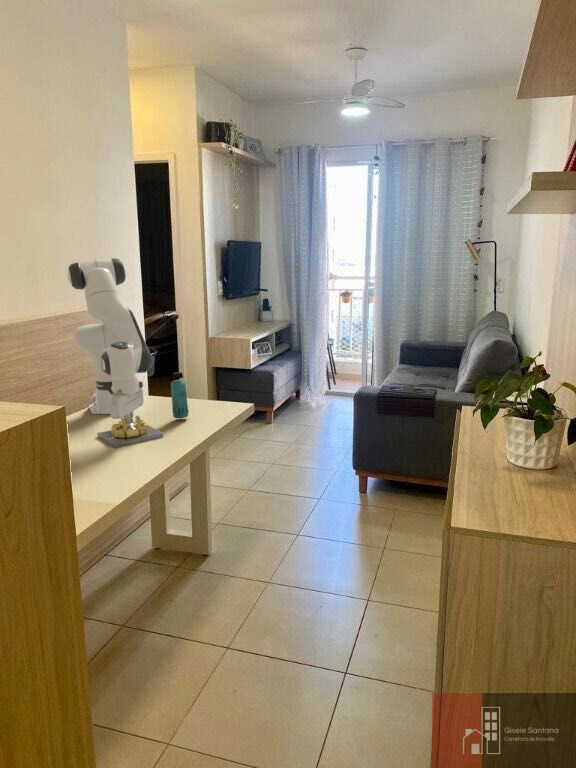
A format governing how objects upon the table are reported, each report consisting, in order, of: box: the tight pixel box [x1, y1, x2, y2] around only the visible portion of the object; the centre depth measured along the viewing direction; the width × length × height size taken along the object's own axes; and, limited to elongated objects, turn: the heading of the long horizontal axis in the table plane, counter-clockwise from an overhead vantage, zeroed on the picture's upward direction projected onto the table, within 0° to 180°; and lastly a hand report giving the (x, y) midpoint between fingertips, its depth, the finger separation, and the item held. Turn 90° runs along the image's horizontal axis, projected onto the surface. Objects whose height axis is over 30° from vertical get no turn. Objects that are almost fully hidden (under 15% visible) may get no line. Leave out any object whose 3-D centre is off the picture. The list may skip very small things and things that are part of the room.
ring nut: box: [110, 415, 148, 438], centre depth 212 cm, size 13×12×7 cm
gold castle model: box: [96, 423, 164, 449], centre depth 213 cm, size 18×19×5 cm
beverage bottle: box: [170, 371, 190, 419], centre depth 232 cm, size 6×7×20 cm
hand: (129, 423), depth 207 cm, fingers closed
